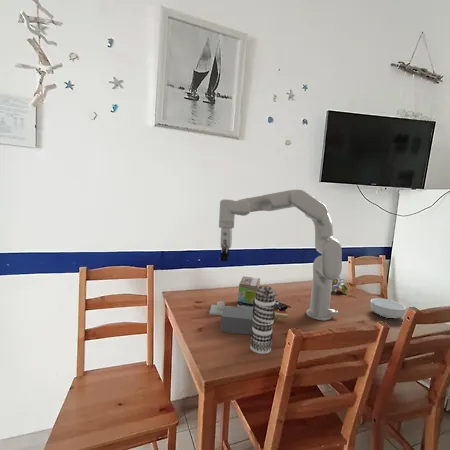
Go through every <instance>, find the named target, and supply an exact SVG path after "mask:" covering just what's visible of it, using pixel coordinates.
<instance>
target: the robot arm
mask: <svg viewBox="0 0 450 450" xmlns="http://www.w3.org/2000/svg"><path fill="white" fill-rule="evenodd" d="M290 208H297V209H298V210H299V211H301V212H302V213H303V214H304V215H305V216H306V217H307V218H309V219H310V220H312V222H313V225H314V248H315V250H316V251H317V252H318V253H319V254H321V255H318V256H317V257H316V258H315V259H314V260H313V263H312V284H311V294H310V302H309V308H308V309H307V310H306V311H305V312H306V316H307V317H308V318H311V319H314V320H317V321H329V320H331V319H332V315H336V316H339V311H338V310H335V309H331V308H330V303H331V295H332V292H331V289H332V280H335V279H337V278H338V277H339V276H340V277H341V274H342V270H343V269H342V267H343V264H342V263H343V260H342V259H343V258H342V257H343V250H342V245H341V243H340V241H338V239H336V238H334V232H333V231H334V230H333V221H332V218H331V216H330V214H329V210H328V208H327V206H326V205H325V204H324V203H323V202H322V201H320V200H319V199H317V198H315V197H314V196H312V195H310V194H309V193H307V191H305V190H303V189H290V190H284V191H278V192H272V193H268V194H267V193H266V194H264V195H262V194H261V195H259V196H253V197H246V198H241V199H238V200H233V199H226V198H225V199H221V200H220V202H219V219H218V220H219V221H218V228H219V229H220V248H221V251H220V261H222V262H228V257H229V256H230V249H231V248H232V240H233V239H232V238H233V237H232V236H233V229H235V218H236V217H235V216H236V215H237V216H241V217H242V216H243V217H244V216H247V215H249V214H251V213H254V212H261V211H262V212H263V211H264V212H274V211H279V210H284V209H290Z"/></svg>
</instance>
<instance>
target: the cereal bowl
mask: <svg viewBox="0 0 450 450" xmlns="http://www.w3.org/2000/svg"><path fill="white" fill-rule="evenodd" d="M369 307H370V309H371V310H372V311H373V312H374V313H375V314H377V315H378V314H379V315H380V317H381V316H383V317H386V318H385V319H387V318H394V319H399V318H402V317H403V316H404V315H405V313H406V310H407V307H406V305H404V304H402V303H400V302H398V301H395V300H391V299H388V298H382V297H381V298H378V297H377V298H375V297H374V298H371V299H370V306H369ZM379 315H378V316H379ZM383 317H382V318H383Z"/></svg>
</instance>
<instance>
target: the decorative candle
mask: <svg viewBox="0 0 450 450" xmlns="http://www.w3.org/2000/svg"><path fill="white" fill-rule="evenodd" d="M255 292H256V297H255V299H254V300H253V304H254V305H253V315H252V316H253V318H252V319H253V326H252V330H251V335H250V336H251V337H250V343H249V344H250V346H249V348H250V350H251V351H253V352H254V353H256V354H261V355H265V354H269V353H270V352H271V351H272V343H273V324H274V322H275V321H274V315H275V313H276V312H275V311H276V310H277V309H276V307H277V304H276V300H275V299H276V298H275V297H276V294H277V292H276V291H275V290H274V288H272V287H271V286H267V285H260V286H259V288H258V289H256V290H255ZM254 311H255V312H254ZM274 312H275V313H274Z"/></svg>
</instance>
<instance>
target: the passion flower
mask: <svg viewBox="0 0 450 450" xmlns="http://www.w3.org/2000/svg"><path fill="white" fill-rule="evenodd" d="M345 281H346V279H344V278H341V275H340V276H339V277H338V278H337V279H335V280H332V289H331V293H332V292H335V293H337V292H338V290H339V291H340V289H341V290H342V293H343V294H344V295H347V294H348V293H349V289H348V288H349V287H350V284H349V283H348V282H346V283H344V282H345ZM346 284H347V285H348V287H347V286H346Z"/></svg>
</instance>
